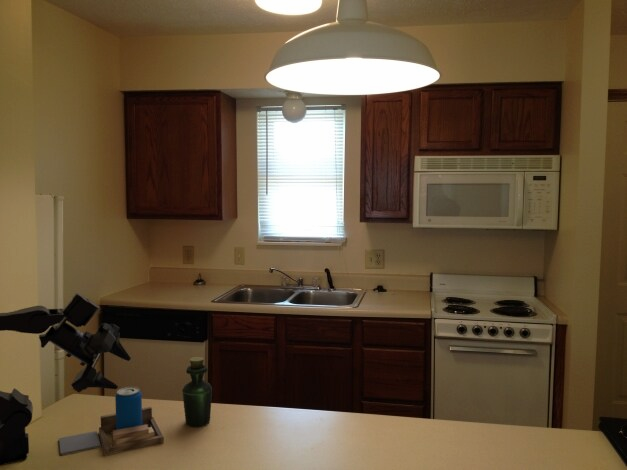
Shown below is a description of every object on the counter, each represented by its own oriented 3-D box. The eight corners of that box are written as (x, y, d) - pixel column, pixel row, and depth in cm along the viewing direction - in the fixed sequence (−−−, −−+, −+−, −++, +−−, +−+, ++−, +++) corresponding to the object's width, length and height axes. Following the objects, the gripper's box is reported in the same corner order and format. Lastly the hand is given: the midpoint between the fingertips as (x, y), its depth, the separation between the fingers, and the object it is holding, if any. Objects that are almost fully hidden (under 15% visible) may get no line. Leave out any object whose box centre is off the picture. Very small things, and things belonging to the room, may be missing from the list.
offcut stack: (113, 451, 128) (112, 436, 127) (111, 445, 131) (110, 430, 131) (155, 442, 132) (154, 427, 132) (152, 436, 136) (151, 422, 135)
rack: (105, 455, 126) (104, 437, 125) (99, 432, 138) (98, 416, 137) (163, 442, 132) (163, 425, 132) (153, 422, 144) (152, 406, 144)
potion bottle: (206, 429, 140) (205, 364, 138) (178, 427, 141) (176, 362, 140) (216, 417, 148) (215, 355, 146) (189, 415, 149) (188, 353, 148)
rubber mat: (60, 455, 126) (60, 453, 126) (59, 440, 134) (59, 438, 134) (100, 446, 130) (100, 445, 130) (96, 432, 138) (96, 430, 138)
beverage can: (146, 429, 140) (145, 386, 139) (136, 441, 133) (134, 395, 132) (123, 428, 140) (122, 385, 139) (111, 440, 134) (110, 394, 133)
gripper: (73, 356, 118) (128, 391, 124) (105, 300, 133) (153, 333, 140) (48, 376, 123) (103, 408, 129) (81, 319, 138) (129, 351, 144)
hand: (123, 373), depth 135 cm, fingers open, 9 cm apart
